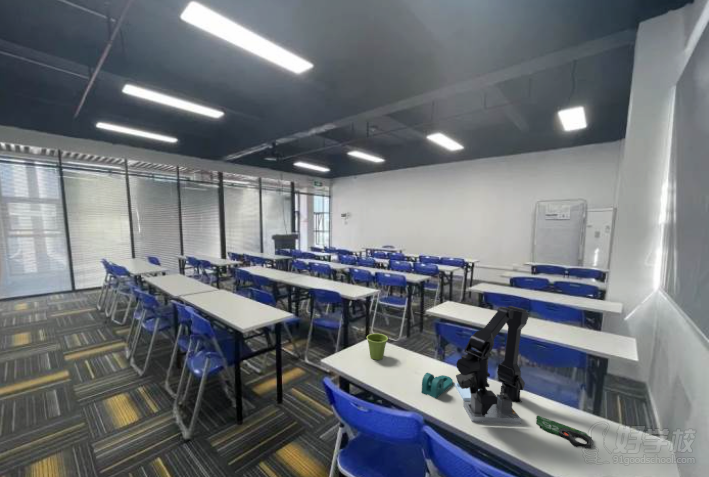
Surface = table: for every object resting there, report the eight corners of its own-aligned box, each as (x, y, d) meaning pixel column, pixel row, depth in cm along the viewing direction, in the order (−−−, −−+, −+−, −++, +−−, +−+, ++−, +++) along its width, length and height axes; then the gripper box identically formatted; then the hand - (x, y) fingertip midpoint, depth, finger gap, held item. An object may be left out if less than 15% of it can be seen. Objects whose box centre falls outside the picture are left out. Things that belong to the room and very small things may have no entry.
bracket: (435, 400, 119) (436, 382, 118) (421, 393, 124) (422, 375, 123) (455, 384, 131) (455, 367, 131) (441, 378, 136) (442, 362, 136)
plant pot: (361, 357, 155) (362, 337, 155) (374, 350, 164) (374, 331, 164) (379, 364, 148) (379, 343, 147) (391, 357, 157) (391, 337, 156)
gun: (534, 428, 102) (537, 413, 110) (534, 431, 102) (536, 417, 110) (593, 450, 92) (591, 433, 100) (592, 455, 92) (590, 437, 100)
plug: (480, 410, 111) (481, 389, 111) (484, 417, 107) (485, 395, 107) (470, 410, 111) (471, 389, 111) (474, 417, 107) (475, 395, 107)
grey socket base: (507, 409, 113) (508, 387, 113) (520, 424, 104) (521, 401, 104) (463, 407, 114) (464, 385, 114) (471, 423, 105) (472, 399, 105)
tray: (478, 387, 129) (479, 383, 129) (490, 402, 117) (490, 398, 117) (454, 386, 129) (454, 382, 129) (463, 401, 118) (463, 397, 118)
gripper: (451, 356, 118) (449, 392, 119) (468, 380, 99) (466, 423, 100) (477, 357, 118) (476, 393, 118) (499, 381, 99) (497, 424, 100)
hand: (478, 407), depth 109 cm, fingers open, 9 cm apart
